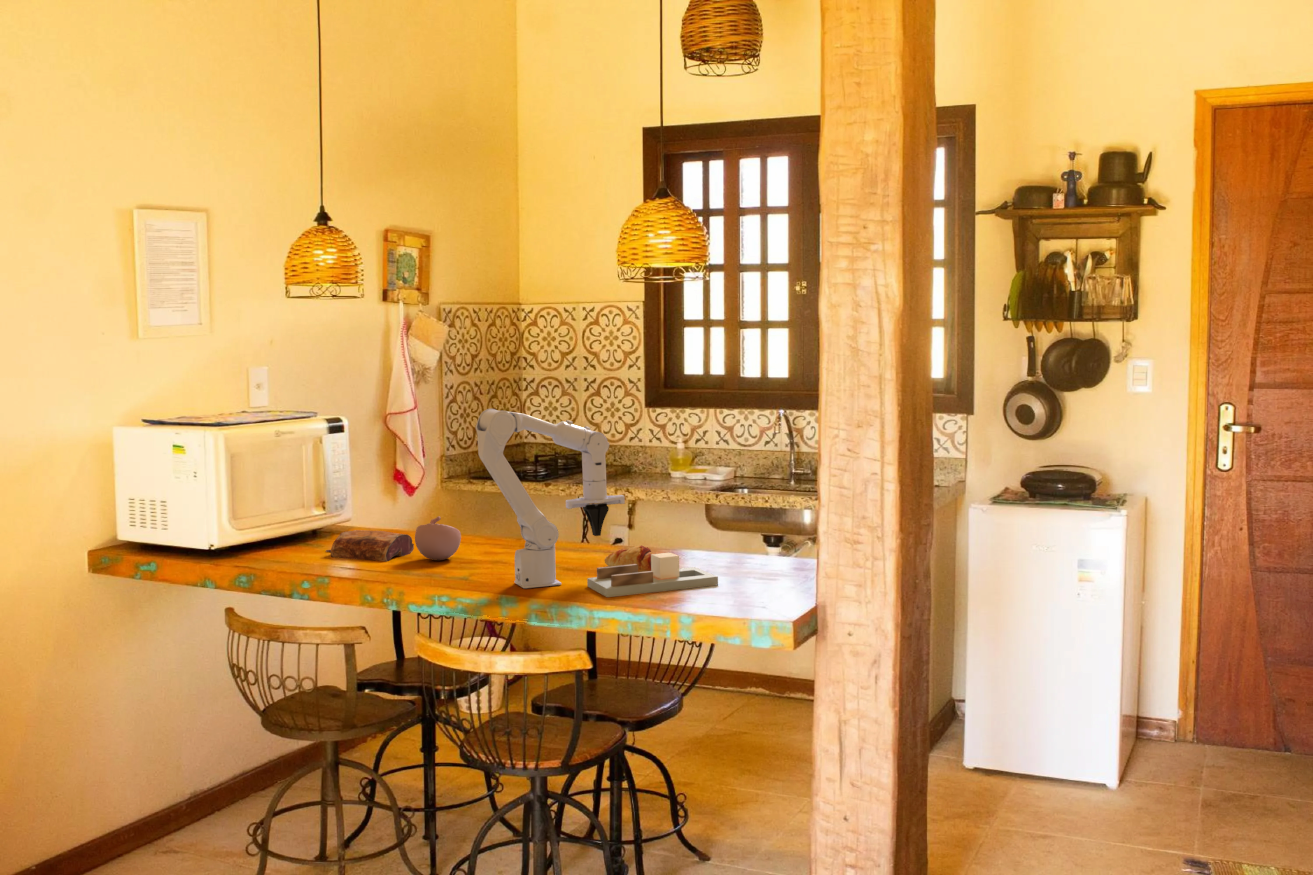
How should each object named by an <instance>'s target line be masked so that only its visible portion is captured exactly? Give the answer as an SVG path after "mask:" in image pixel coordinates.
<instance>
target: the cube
mask: <svg viewBox="0 0 1313 875" xmlns="http://www.w3.org/2000/svg"><path fill="white" fill-rule="evenodd" d="M679 569H680V555H677V554H675V553H673V552H662V553H656V554H651V571H652V572H653V576H655V577H657V578H659V579H664V578H673V577H680V576H679Z"/></svg>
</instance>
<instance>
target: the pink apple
mask: <svg viewBox="0 0 1313 875" xmlns="http://www.w3.org/2000/svg"><path fill="white" fill-rule="evenodd" d="M440 520H441V516H436V518H433V519H431V520H430V523H426V524H419V525H418V526H417V527H416V529H415V534H414V542H415V545H416V548H417V550H418V552H419V553H420V554H421V555H422V556H423V557H425V558H426V559H429V560H431V561H444V560H446V559H449V558H451V557H452V556H453V555H455V553H456V552H457V551H458V549H459V547H460V545H461V540H462V533H461V531H460V530H459V529H458V528H456V527H453V526H451V525H447V524H443V523H441V524H440V523H437V522H439V521H440Z"/></svg>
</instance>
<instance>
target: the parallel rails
mask: <svg viewBox="0 0 1313 875" xmlns="http://www.w3.org/2000/svg"><path fill="white" fill-rule="evenodd" d="M596 577H597V579H606V578H611V586H613V587H616V586H625V585H634V584H643V583H653V572H652V571H645V572H638V565H637V564H630V565H620V566H610V567H609V566H604V567H603V566H602V567H601V566H600V567H596Z"/></svg>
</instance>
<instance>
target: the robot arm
mask: <svg viewBox="0 0 1313 875" xmlns="http://www.w3.org/2000/svg"><path fill="white" fill-rule="evenodd" d="M573 423H574V421H572V420H565V421H563V420H562V421H560V422H558V423H557V422H556V424H555V423H551V422H549V421H546V420H543V419H540V418H537V417H534V416H531V415H529V414H525V413H521V412H515V411H507V410H497V409H495V408H487V409H484V410H483V411H481V413H480V415H479V416H478V418H477V422H476V425H475V431H476V435H477V450H478V453H477V454H478V457H479V459H480V460H481V462H482V463H483V465H484V467H485V469H486V470H487V471H488V473H489V475H490V476H491V478H492V479H493V481H494V483H495V484H496V486H497V487H498V489H499V490H500V492H501V493H502V495H503V496H504V498H505V500H506V501H507V503H508V504H509V506H510V508H511V509H512V510H513V512H514V513H515V516H516V522H517V523H518V526H519V527H520V534H521V535H520V536H521V537H522V539H523V540H524V541H525V543H524V547H523V548H521V549H516V550H515V553H514V579H515V580H514V584H516V585H517V586H519V587H520V588H523V589H532V588H533V589H534V588H542V587H549V586H550V587H551V586H552V587H553V586H560V585H562V582H561V581H559V580H558V579H556V578H557V577H556V575H557V572H556V568H557V567H556V543H557V541H558V539H559V534H560V533H559V529H558V527H557V525H555V524H554V523H553V522H551V521H549V520H548V519H547V517H546V516H545V515H544V513H543V512H541V510H540V509H539V508H538V507H537V506H536V504H535V503H534V501H533V500H532V498H531V496H530V495H529V493H528V492H527V490H526V489H525V487H524V485H523V483H522V482H521V480H520V479H519V477H518V475H517V474H516V472H515V470H514V469H513V468H512V466H511V464H510V463H509V462H508V460H507V458H506V457H505V454H504V451H505V447H506V444H507V443H508V441H509V440H510V439H511V437H512V435H513V434H514V432H515V433H520V432H521V431H524V430H526V431H530V432H532V433H537V434H540V435H543V436H547V437H550V438H551V439H552V442H553V443H554V444H555V445H558V446H562V447H564V448H567V449H571V450H573V451H578V452H579V451H580V452H581V466H582V468H581V469H582V493H583V494H582V495H583V497H579V498H572V499H566V500H565V508H566V509H568V510H572V509H576V508H577V509H578V508H582V509H583V511H584V513H585V515H586V518H587V520H588V522H589V524H590V528H591V532H592V535H593V536H594V537H599V536H600V537H601V535H602V529H603V525H604V521H605V519H606V516H607V514H608V512H609V509H610V508H609V505H619V504H620V505H624V504H626V502H625V501H626V500H625V495H623V494H617V495H616V494H615V495H608V491H607V490H608V488H607V463H606V453H607V452H608V450H609V447H610V442H609V441H608V438H607V437H606V435H605V434H604V433H603V432H600V431H596V430H591V428H590V427H589V426H584V427H582V426H579V425H576V424H573Z"/></svg>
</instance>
